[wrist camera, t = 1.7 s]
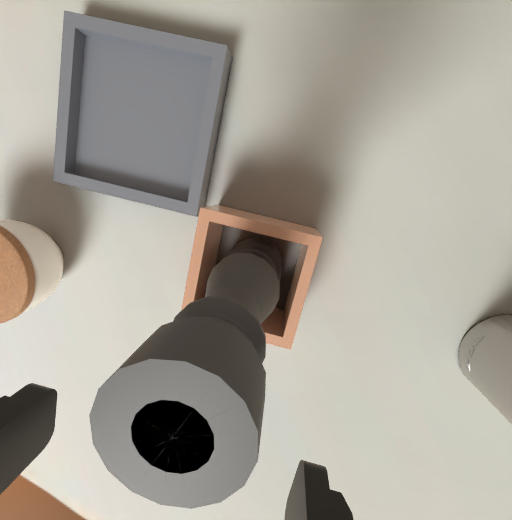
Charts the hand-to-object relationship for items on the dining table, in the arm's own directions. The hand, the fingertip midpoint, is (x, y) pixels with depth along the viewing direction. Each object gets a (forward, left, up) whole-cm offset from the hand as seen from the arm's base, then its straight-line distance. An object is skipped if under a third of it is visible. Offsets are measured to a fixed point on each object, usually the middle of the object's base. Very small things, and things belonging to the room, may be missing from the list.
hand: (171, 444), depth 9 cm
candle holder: (0, 0, -26) cm, 26 cm away
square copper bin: (0, 0, -25) cm, 25 cm away
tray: (+15, -12, -25) cm, 32 cm away
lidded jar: (+26, +6, -26) cm, 37 cm away
